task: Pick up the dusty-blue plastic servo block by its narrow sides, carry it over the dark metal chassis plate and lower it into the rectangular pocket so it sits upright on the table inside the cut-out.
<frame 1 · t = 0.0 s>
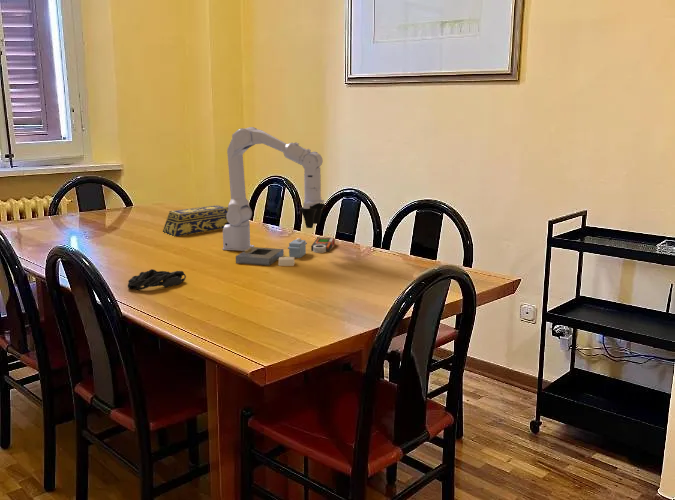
hand: (312, 225, 234), 10 cm above the table, fingers open, 7 cm apart
cable: (153, 285, 199), on the table
chassis: (260, 259, 228), on the table
decorative box: (200, 231, 277), on the table
electronic device: (322, 249, 245), on the table
servo: (297, 255, 234), on the table
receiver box: (286, 265, 221), on the table
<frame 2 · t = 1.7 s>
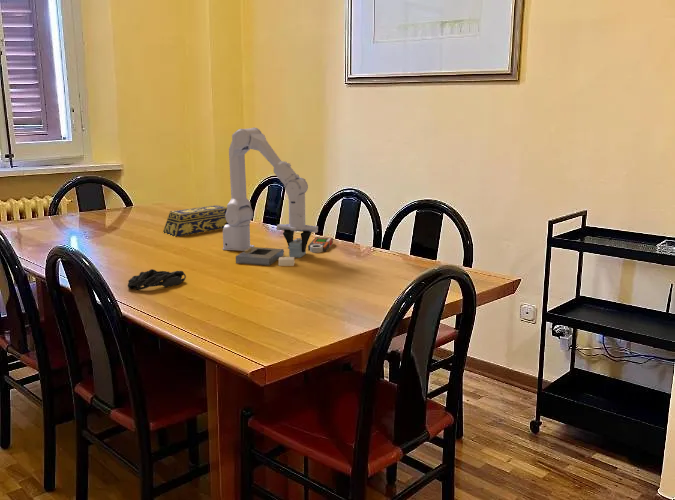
hand: (297, 251, 233), 1 cm above the table, fingers closed on servo, 4 cm apart
servo: (297, 255, 234), on the table, touching gripper
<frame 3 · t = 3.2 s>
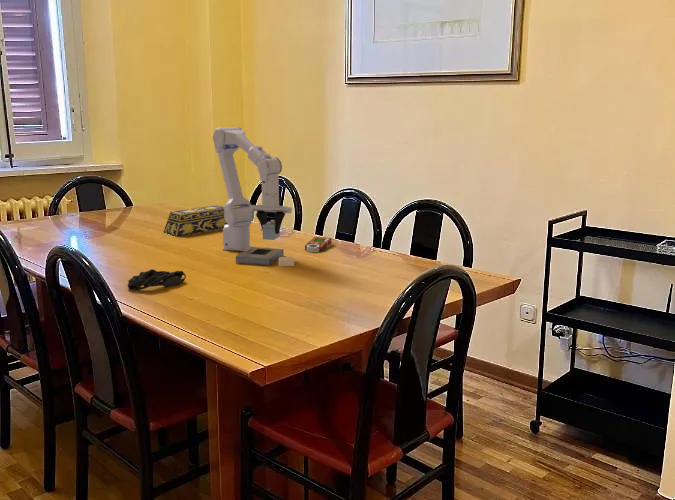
hand: (271, 232, 228), 9 cm above the table, fingers closed on servo, 4 cm apart
servo: (271, 237, 229), point 7 cm above the table, touching gripper
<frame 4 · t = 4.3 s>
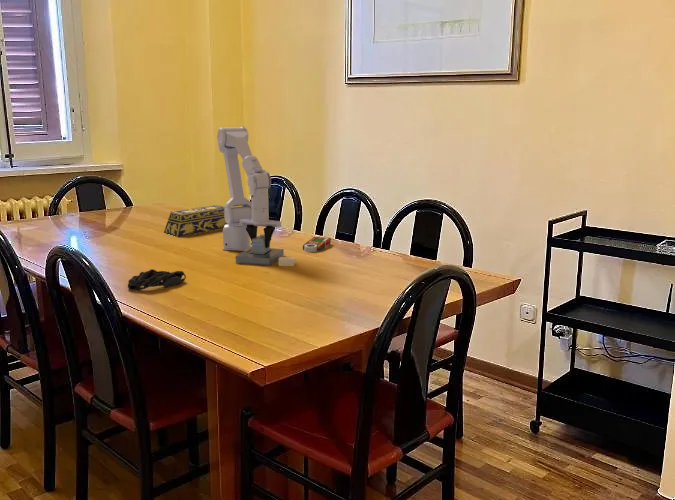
hand: (261, 246, 228), 4 cm above the table, fingers closed on servo, 4 cm apart
servo: (261, 251, 228), point 2 cm above the table, touching gripper
when the fingers open (3 cm above the table, at t = 5.0 s): servo drops 1 cm, resting in chassis.
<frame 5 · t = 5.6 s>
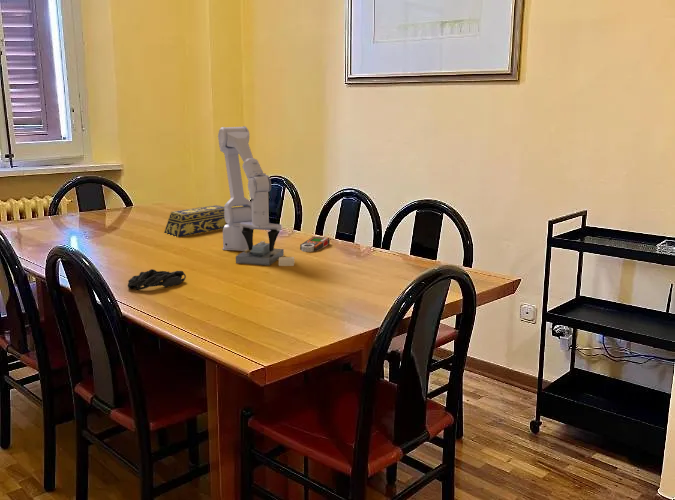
hand: (261, 250, 228), 3 cm above the table, fingers open, 7 cm apart
servo: (261, 258, 229), resting in chassis
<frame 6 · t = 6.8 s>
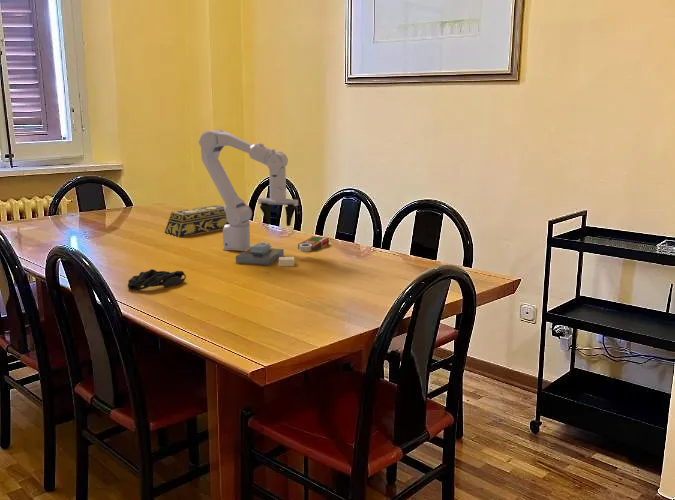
hand: (278, 224, 237), 10 cm above the table, fingers open, 7 cm apart
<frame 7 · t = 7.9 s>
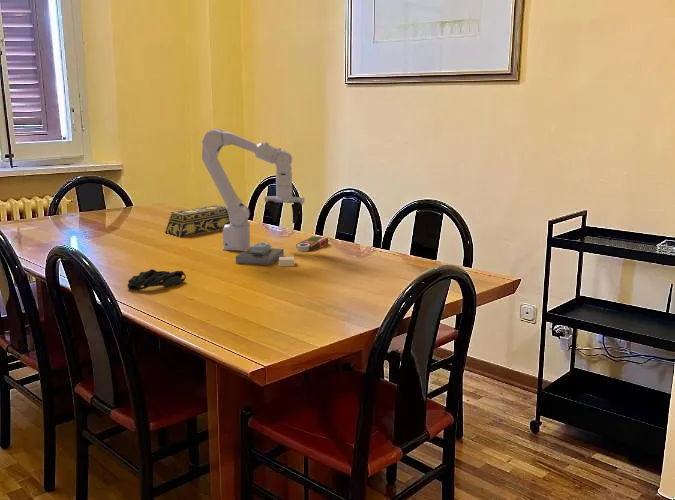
hand: (284, 222, 241), 10 cm above the table, fingers open, 7 cm apart
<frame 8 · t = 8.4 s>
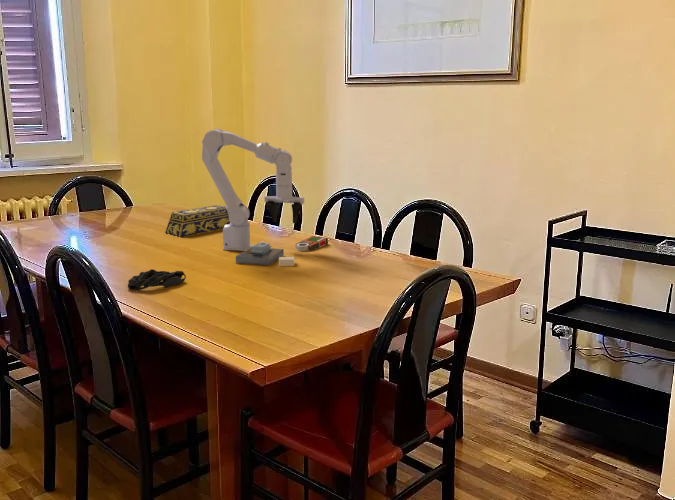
hand: (284, 222, 241), 10 cm above the table, fingers open, 7 cm apart
at the end: servo 0.0 cm from the target spot on the chassis, point 0.0 cm above the chassis's base; servo tilted 0°; the gripper is holding nothing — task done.
